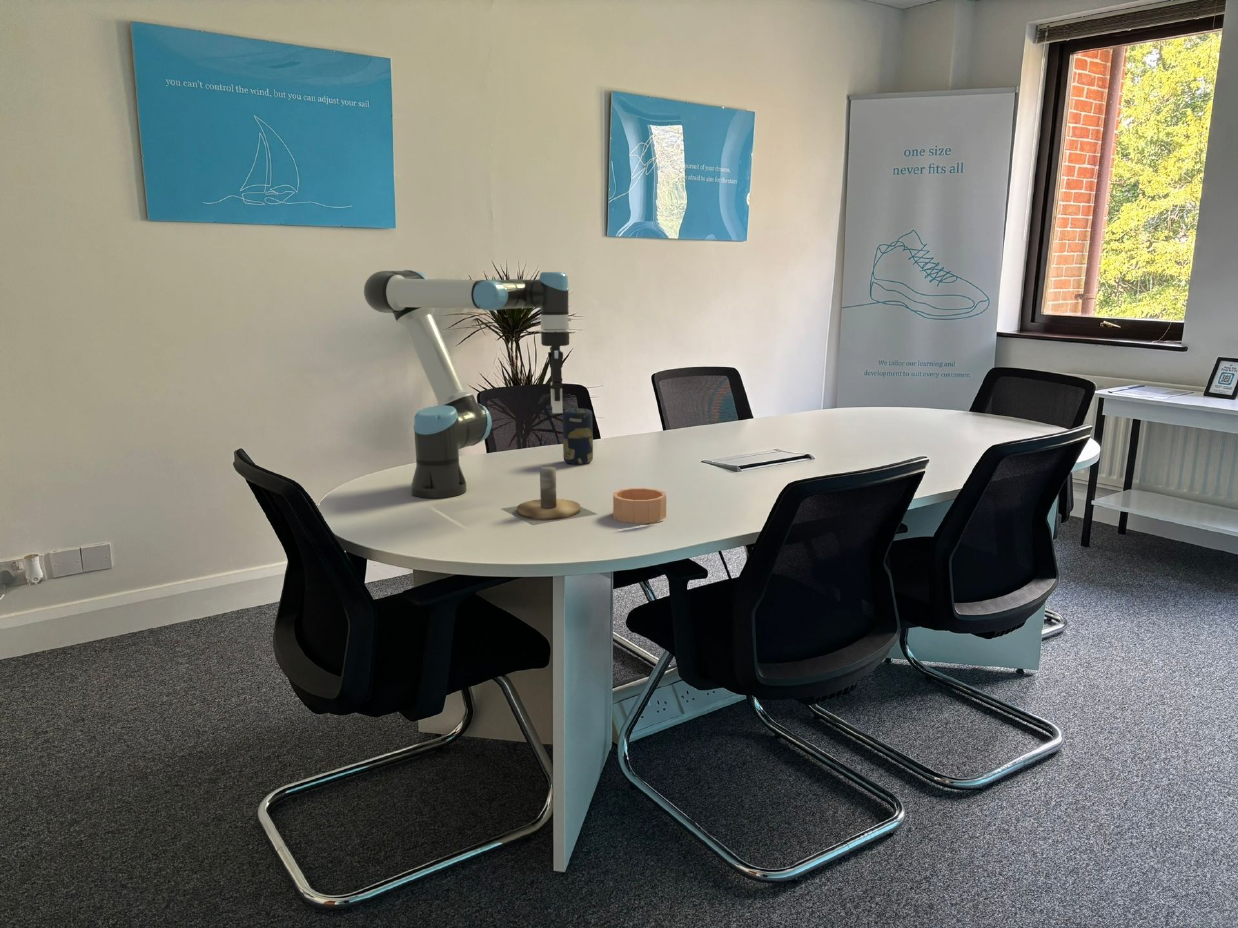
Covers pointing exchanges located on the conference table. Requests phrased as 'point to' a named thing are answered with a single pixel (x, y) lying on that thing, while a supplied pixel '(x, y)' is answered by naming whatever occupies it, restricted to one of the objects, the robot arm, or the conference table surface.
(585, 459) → the canister
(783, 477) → the conference table surface
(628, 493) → the bowl
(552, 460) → the conference table surface
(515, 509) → the mat
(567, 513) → the lid
